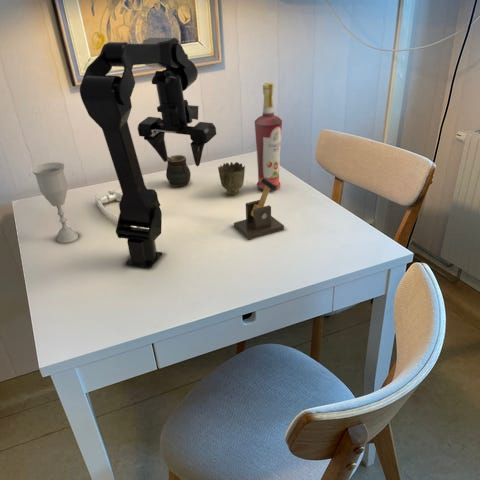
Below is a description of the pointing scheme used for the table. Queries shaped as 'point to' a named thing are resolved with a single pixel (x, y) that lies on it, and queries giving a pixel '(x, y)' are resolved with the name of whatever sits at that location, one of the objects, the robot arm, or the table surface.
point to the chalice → (55, 194)
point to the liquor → (268, 140)
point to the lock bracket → (258, 222)
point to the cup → (232, 177)
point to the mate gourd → (178, 171)
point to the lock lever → (264, 194)
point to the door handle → (112, 196)
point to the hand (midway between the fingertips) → (181, 163)
